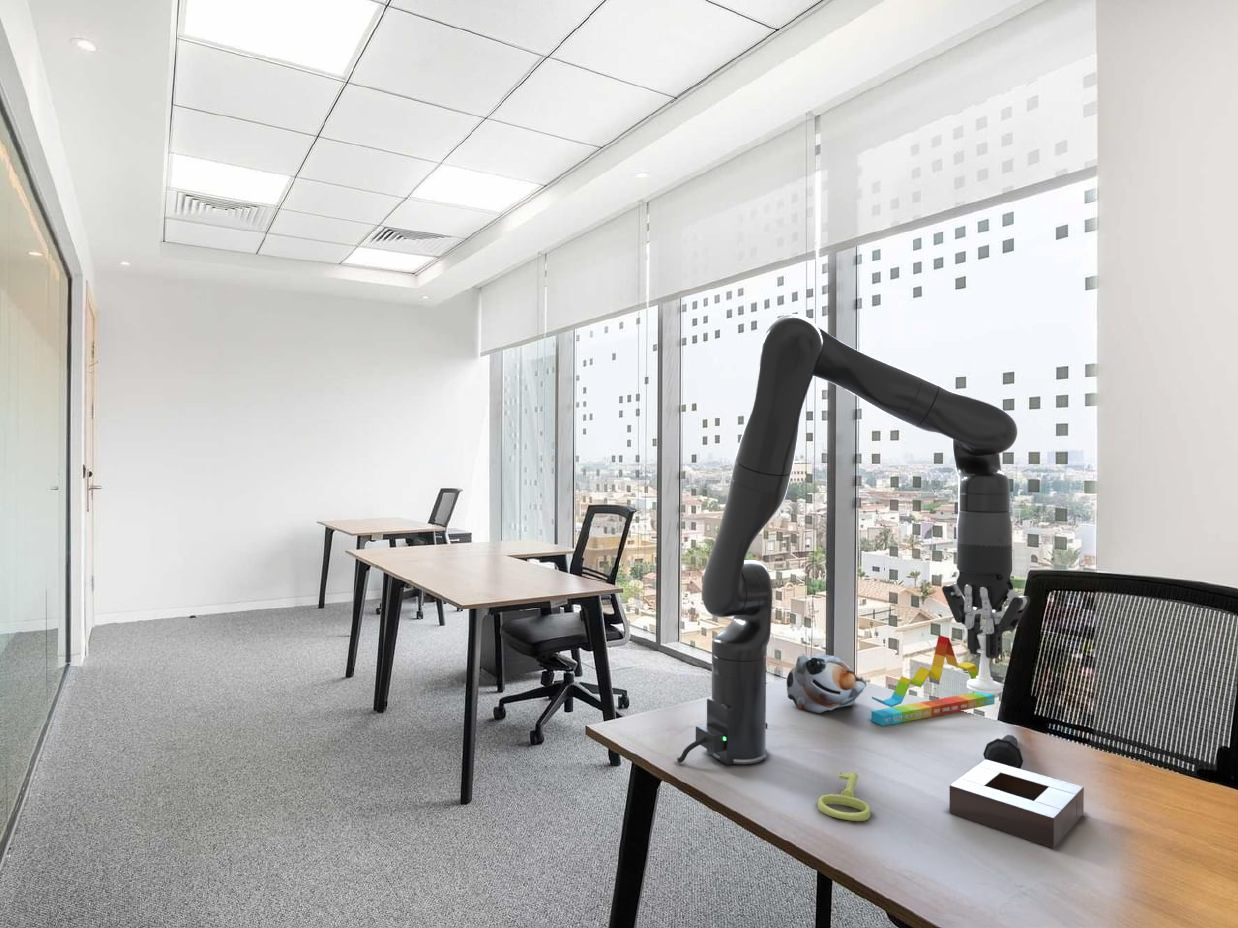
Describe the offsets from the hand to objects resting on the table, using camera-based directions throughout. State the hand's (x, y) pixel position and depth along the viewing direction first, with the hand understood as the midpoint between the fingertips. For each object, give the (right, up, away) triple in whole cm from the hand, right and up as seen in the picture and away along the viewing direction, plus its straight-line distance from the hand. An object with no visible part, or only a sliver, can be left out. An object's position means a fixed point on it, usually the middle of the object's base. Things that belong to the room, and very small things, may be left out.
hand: (984, 655), depth 112 cm
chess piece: (0, -5, 0) cm, 5 cm away
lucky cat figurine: (-13, -21, +40) cm, 47 cm away
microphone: (+11, -21, +13) cm, 28 cm away
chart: (+8, -21, +37) cm, 44 cm away
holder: (+2, -21, -5) cm, 22 cm away
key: (-21, -22, -2) cm, 30 cm away
